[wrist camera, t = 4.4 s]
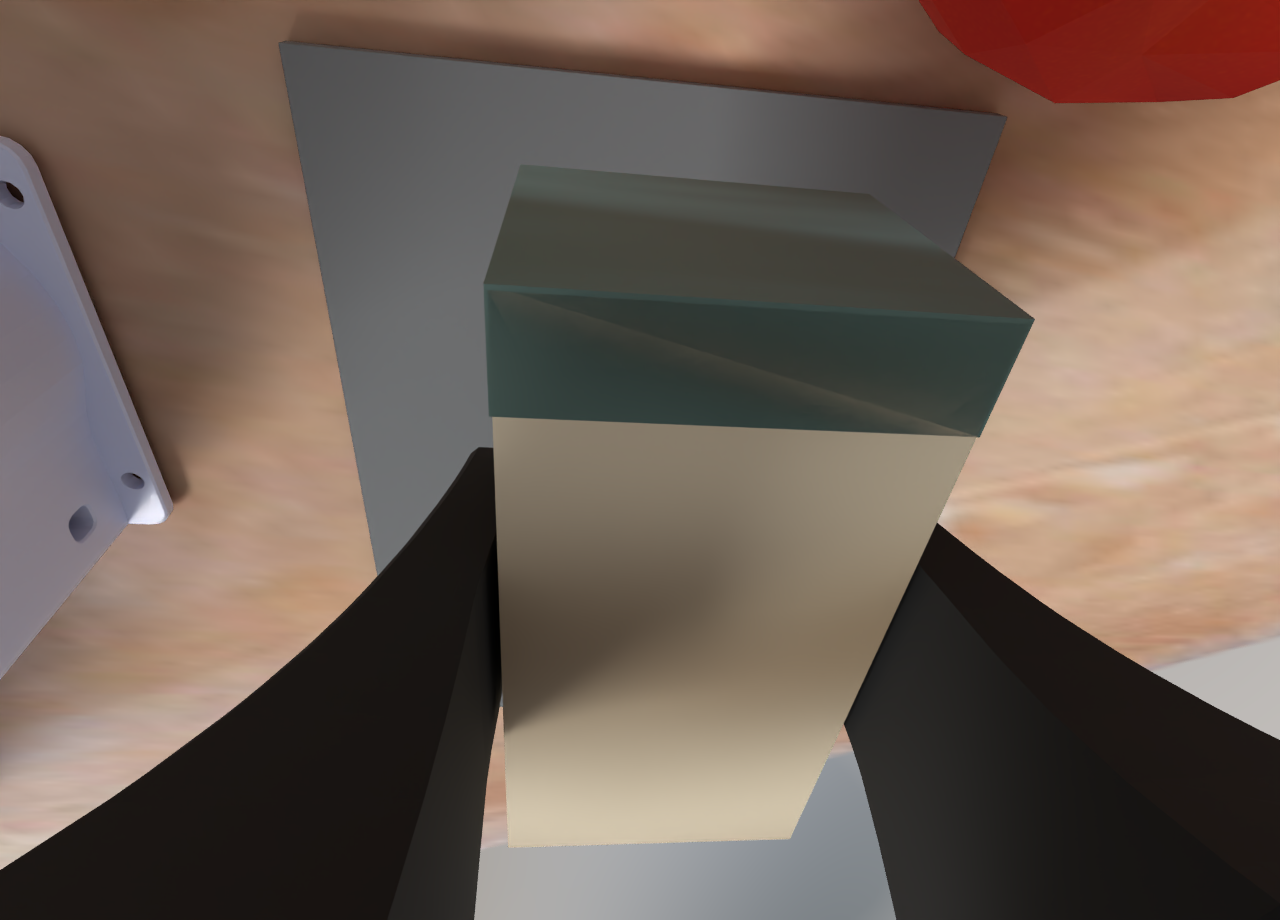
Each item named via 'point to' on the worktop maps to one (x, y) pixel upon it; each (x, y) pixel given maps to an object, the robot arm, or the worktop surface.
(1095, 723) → the robot arm
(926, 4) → the tomato
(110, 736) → the worktop surface
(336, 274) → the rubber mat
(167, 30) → the worktop surface
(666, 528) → the green and cream block
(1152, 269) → the worktop surface
